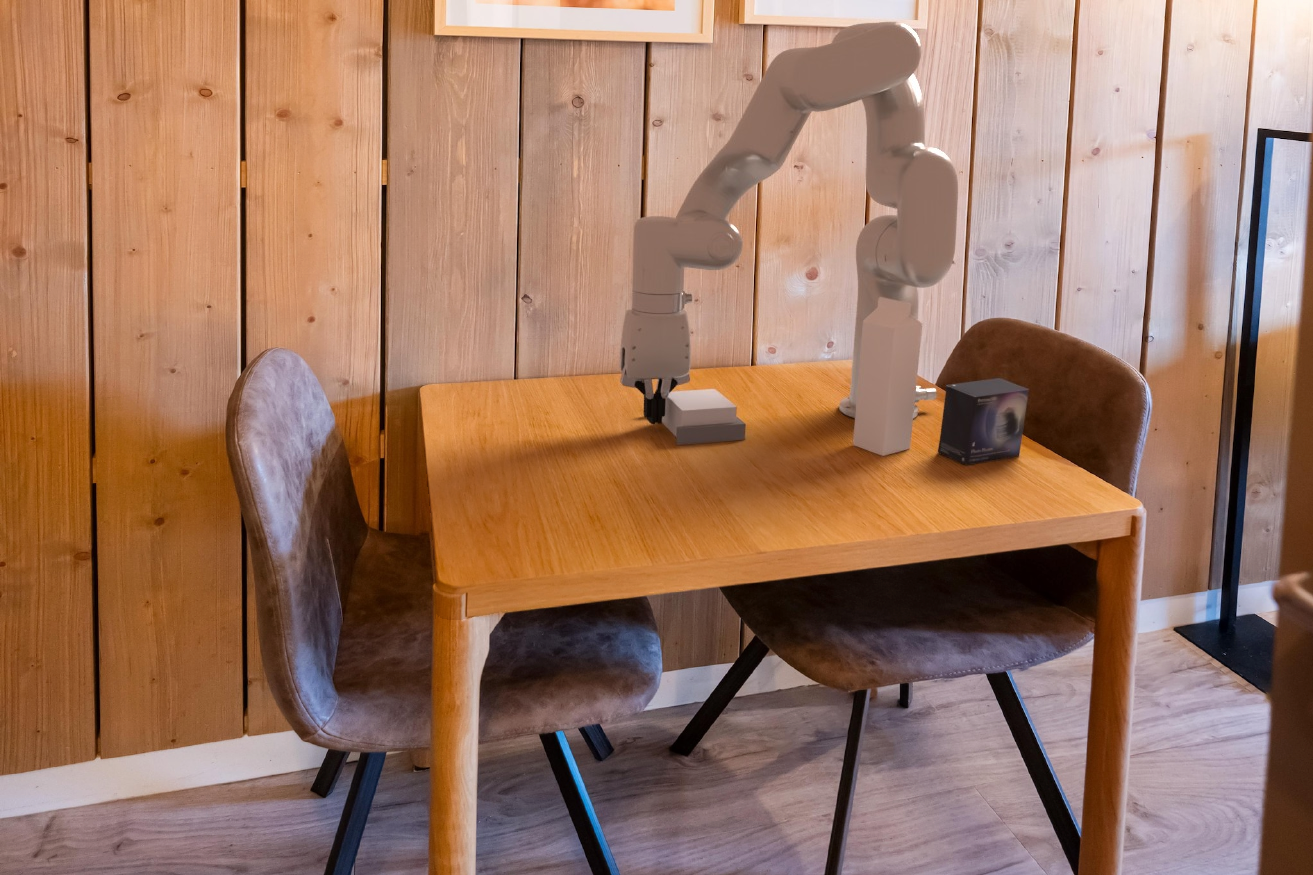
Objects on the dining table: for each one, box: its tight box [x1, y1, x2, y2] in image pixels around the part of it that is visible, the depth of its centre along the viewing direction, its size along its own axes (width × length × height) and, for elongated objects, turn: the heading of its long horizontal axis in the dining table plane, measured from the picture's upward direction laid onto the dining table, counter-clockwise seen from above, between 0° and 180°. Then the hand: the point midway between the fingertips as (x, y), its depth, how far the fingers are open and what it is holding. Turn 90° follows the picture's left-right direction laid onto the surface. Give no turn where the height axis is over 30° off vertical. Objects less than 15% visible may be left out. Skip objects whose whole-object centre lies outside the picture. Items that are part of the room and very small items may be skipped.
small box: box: [937, 377, 1030, 466], centre depth 154 cm, size 11×6×10 cm, turn 117°
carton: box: [662, 388, 738, 437], centre depth 164 cm, size 8×10×5 cm
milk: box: [852, 297, 923, 457], centre depth 155 cm, size 6×6×22 cm
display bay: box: [675, 415, 747, 446], centre depth 165 cm, size 10×15×2 cm
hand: (654, 421), depth 163 cm, fingers closed
